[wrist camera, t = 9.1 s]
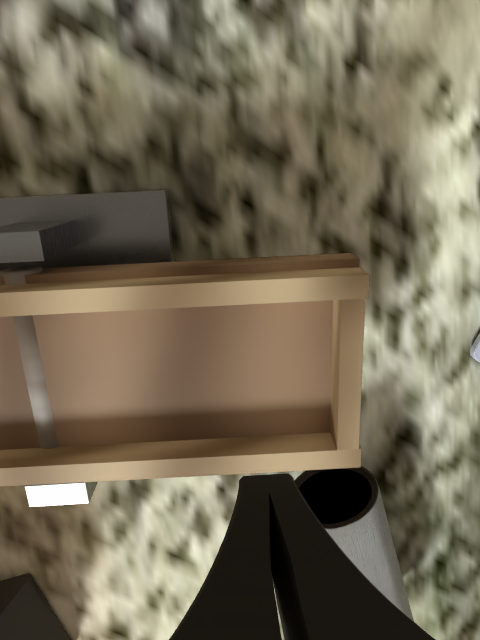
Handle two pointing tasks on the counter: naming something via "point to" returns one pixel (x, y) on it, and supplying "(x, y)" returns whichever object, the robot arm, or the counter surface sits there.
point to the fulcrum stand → (83, 256)
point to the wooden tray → (180, 368)
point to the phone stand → (26, 612)
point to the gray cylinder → (357, 525)
